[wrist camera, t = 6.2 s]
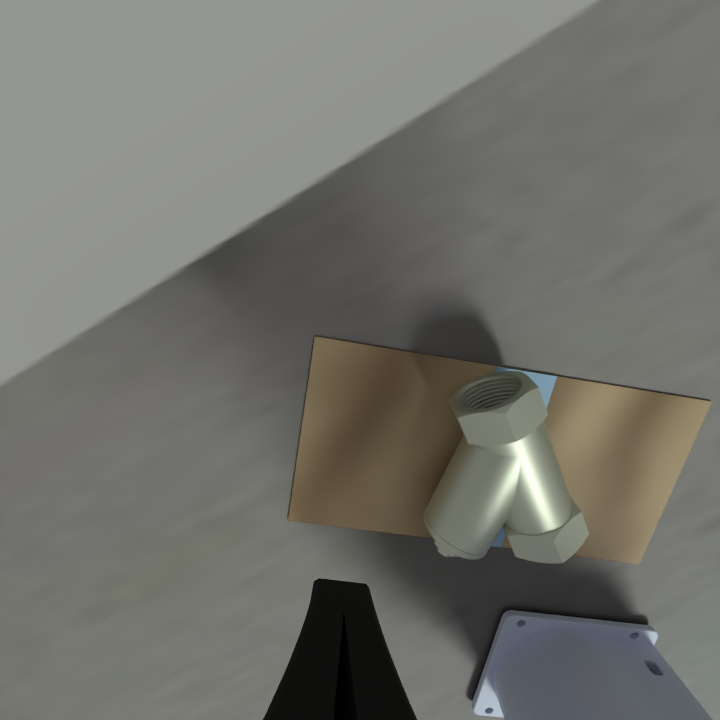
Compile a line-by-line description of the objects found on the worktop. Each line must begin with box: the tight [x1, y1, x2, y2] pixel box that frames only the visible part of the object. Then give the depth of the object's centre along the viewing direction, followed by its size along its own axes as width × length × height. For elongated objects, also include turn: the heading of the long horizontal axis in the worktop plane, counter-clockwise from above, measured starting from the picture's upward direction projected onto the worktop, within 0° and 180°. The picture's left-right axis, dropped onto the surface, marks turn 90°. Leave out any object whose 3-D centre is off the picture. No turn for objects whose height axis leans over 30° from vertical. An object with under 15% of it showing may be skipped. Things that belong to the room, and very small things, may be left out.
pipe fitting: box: [423, 371, 589, 564], centre depth 17 cm, size 8×4×7 cm
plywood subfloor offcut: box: [288, 336, 712, 564], centre depth 19 cm, size 20×10×1 cm, turn 80°
